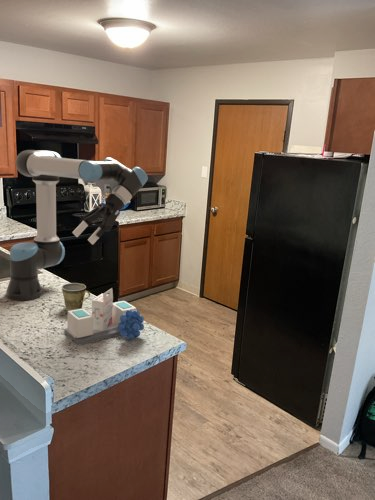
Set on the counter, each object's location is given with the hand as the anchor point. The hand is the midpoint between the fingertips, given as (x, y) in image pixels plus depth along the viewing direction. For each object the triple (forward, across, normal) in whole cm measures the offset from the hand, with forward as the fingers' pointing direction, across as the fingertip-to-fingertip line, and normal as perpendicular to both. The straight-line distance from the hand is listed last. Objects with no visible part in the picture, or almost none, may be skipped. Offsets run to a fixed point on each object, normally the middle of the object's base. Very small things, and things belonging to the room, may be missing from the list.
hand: (82, 238), depth 162 cm
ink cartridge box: (+21, -14, -24) cm, 35 cm away
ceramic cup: (+22, +11, -26) cm, 36 cm away
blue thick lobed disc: (+18, -26, -30) cm, 43 cm away
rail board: (+22, -14, -26) cm, 37 cm away
